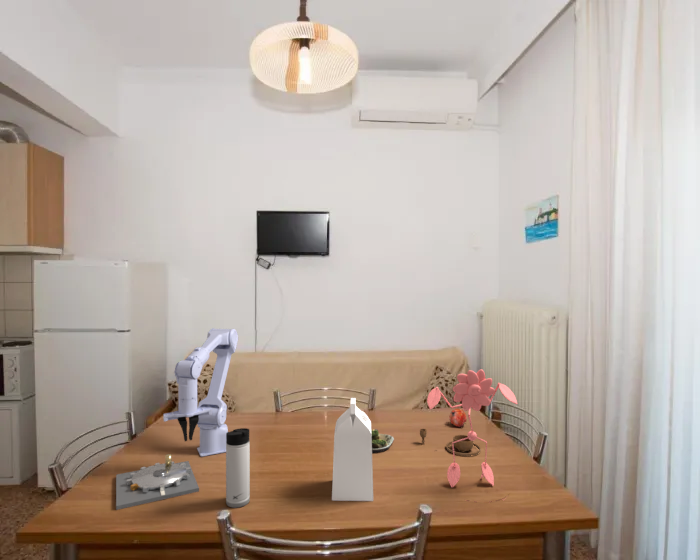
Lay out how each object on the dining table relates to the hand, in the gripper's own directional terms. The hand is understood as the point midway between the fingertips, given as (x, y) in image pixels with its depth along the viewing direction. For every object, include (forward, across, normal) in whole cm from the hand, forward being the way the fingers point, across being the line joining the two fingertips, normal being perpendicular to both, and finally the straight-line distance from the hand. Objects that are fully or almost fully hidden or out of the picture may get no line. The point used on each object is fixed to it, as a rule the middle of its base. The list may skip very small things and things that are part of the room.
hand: (188, 439), depth 139 cm
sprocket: (+8, -9, -6) cm, 13 cm away
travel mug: (+10, +9, -29) cm, 32 cm away
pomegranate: (+10, +105, -11) cm, 106 cm away
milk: (+10, +40, -38) cm, 56 cm away
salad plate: (+10, +62, -10) cm, 64 cm away
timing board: (+9, -10, -7) cm, 15 cm away
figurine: (+10, +71, -54) cm, 90 cm away
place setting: (+10, +88, -27) cm, 92 cm away
